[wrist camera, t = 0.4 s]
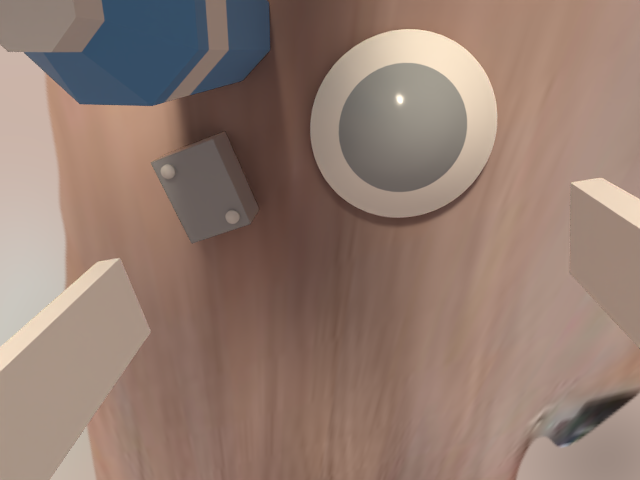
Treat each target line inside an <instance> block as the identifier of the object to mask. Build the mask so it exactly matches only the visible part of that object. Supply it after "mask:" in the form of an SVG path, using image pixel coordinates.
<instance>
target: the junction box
mask: <svg viewBox="0 0 640 480" xmlns="http://www.w3.org/2000/svg"><path fill="white" fill-rule="evenodd" d="M151 164H152V166H153V168H154V170H155V172H156V174H157V176H158V178H159V180H160V182H161V184H162V186H163V188H164V190H165V192H166V194H167V196H168V198H169V200H170V202H171V204H172V206H173V208H174V210H175V212H176V214H177V216H178V218H179V220H180V222H181V224H182V226H183V227H184V229H185V231H186V233H187V235H188V237H189V239H190V241H191V243H195V242H198V241H201V240H204V239H207V238H210V237H213V236H216V235H219V234H222V233H225V232H228V231H231V230H234V229H237V228H240V227H243V226H246V225H249V224H251V223H252V221H253V219H254V218H255V216H256V214H257V213H258V211H259V208H258V205H257V203H256V201H255V198H254V196H253V194H252V192H251V189H250V187H249V185H248V182H247V180H246V178H245V176H244V173H243V171H242V169H241V166H240V164H239V162H238V160H237V157H236V155H235V153H234V150H233V148H232V146H231V144H230V141H229V139H228V137H227V134H226V132H225V131H224V132H222V133H219V134H216V135H214V136H211V137H209V138H206V139H203V140H201V141H198V142H195V143H193V144H190V145H188V146H185V147H182V148H180V149H177V150H174V151H172V152H169V153H167V154H165V155H163V156H162V157H160V158H158V159H156V160H154V161H153V162H151Z"/></svg>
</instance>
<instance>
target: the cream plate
mask: <svg viewBox="0 0 640 480" xmlns="http://www.w3.org/2000/svg"><path fill="white" fill-rule="evenodd" d="M496 130H497V106H496V100H495V96H494V92H493V88H492V86H491V83H490V81H489V78H488V77H487V75H486V73H485V71H484V70H483V68H482V66H481V65H480V64H479V63H478V61H477V60H476V59H475V58H474V57H473V56H472V55H471V54H470V53H469V52H468V51H467V50H466V49H465V48H463V47H462V46H461V45H459V44H458V43H456V42H455V41H453V40H451V39H449V38H447V37H445V36H443V35H440V34H436V33H433V32H430V31H424V30H417V29H402V30H394V31H389V32H385V33H382V34H378V35H376V36H373V37H371V38H368V39H366V40H364V41H363V42H361V43H359V44H358V45H356V46H354V47H353V48H352V49H350V50H349V51H348V52H347V53H345V54H344V55H343V56H342V57H341V58H340V59H339V60H338V61H337V62H336V63H335V64H334V65H333V67H332V68H331V69H330V71H329V72H328V73H327V75H326V77H325V78H324V80H323V82H322V84H321V85H320V88H319V90H318V92H317V95H316V97H315V101H314V104H313V108H312V114H311V121H310V136H311V145H312V149H313V153H314V157H315V160H316V162H317V165H318V167H319V169H320V171H321V173H322V175H323V177H324V178H325V180H326V181H327V182H328V184H329V185H330V186H331V188H332V189H333V190H334V191H335V192H336V193H337V194H338V195H339V196H341V197H342V198H343V199H344V200H346V201H347V202H348V203H350V204H352V205H353V206H355V207H357V208H359V209H361V210H363V211H365V212H368V213H371V214H375V215H378V216H384V217H395V218H403V217H413V216H418V215H423V214H426V213H429V212H432V211H435V210H437V209H439V208H441V207H443V206H445V205H447V204H448V203H450V202H451V201H453V200H455V199H456V198H457V197H458V196H460V195H461V194H462V193H463V192H464V191H465V190H466V189H467V188H468V187H469V186H470V185H471V184H472V183H473V182H474V181H475V179H476V178H477V177H478V176H479V174H480V173H481V171H482V169H483V168H484V166H485V164H486V163H487V160H488V158H489V156H490V154H491V151H492V148H493V144H494V141H495V136H496Z"/></svg>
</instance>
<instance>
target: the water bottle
mask: <svg viewBox="0 0 640 480" xmlns="http://www.w3.org/2000/svg"><path fill="white" fill-rule="evenodd" d="M0 45H1V46H2V47H4V48H5V49H6V50H7V51H8V52H24V53H25V54H26V55H27V56H28V57H29V58H30V59H32V61H34V62H35V63H36V64H37V65H38V66H39V67H40V68H41V69H42V70H43V71H44V72H46V73H47V74H48V75H49V76H50V77H51V78H52V79H53V80H54V81H55V82H56V83H58V84H59V85H60V86H61V87H62V88H63V89H64V90H65V91H66V92H67V93H68V94H70V95H71V96H72V97H73V98H74V99H75V100H76V101H77V102H78V103H79V104H95V105H137V106H153V105H157V104H160V103H164V102H167V101H171V100H175V99H178V98H182V97H186V96H189V95H193V94H196V93H200V92H204V91H207V90H211V89H215V88H218V87H222V86H225V85H229V84H233V83H236V82H240V81H243V80H244V79H245V77H246V76H247V75H248V74H249V73H250V72H251V71H252V70H253V69H254V68H255V66H256V65H257V64H258V63H259V62H260V61H261V60H262V59H263V58H264V56H265V55H266V54H267V53H268V52H269V51H270V18H269V2H268V1H267V0H0Z"/></svg>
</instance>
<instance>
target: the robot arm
mask: <svg viewBox="0 0 640 480" xmlns="http://www.w3.org/2000/svg"><path fill="white" fill-rule="evenodd" d="M570 274H571V275H572V276H573V277H574V278H575V279H576V280H577V282H578V283H579V284H580V285H581V286H582V287H583V288H584V289H585V290H586V291H587V292H588V293H589V295H590V296H591V297H592V298H593V299H594V300H595V301H596V302H597V303H598V304H599V305H600V306H601V308H602V309H603V310H604V311H605V312H606V313H607V314H608V315H609V316H610V317H611V318H612V319H613V321H614V322H615V323H616V324H617V325H618V326H619V327H620V328H621V329H622V330H623V331H624V332H625V334H626V335H627V336H628V337H629V338H630V339H631V340H632V341H633V342H634V343H635V344H636V345H637V347H638V348H639V349H640V199H638V198H636V197H635V196H633V195H631V194H629V193H628V192H626V191H624V190H622V189H620V188H619V187H617V186H615V185H613V184H612V183H610V182H608V181H606V180H605V179H603V178H596V179H590V180H584V181H578V182H572V183H571V192H570ZM150 333H151V330H150V328H149V325H148V323H147V321H146V318H145V316H144V314H143V311H142V309H141V306H140V304H139V302H138V299H137V297H136V294H135V292H134V290H133V287H132V285H131V283H130V280H129V278H128V275H127V273H126V271H125V268H124V266H123V263H122V261H121V259H120V258H117V259H111V260H105V261H99V262H97V263H95V264H94V265H93V266H92V267H91V268H90V269H89V270H87V271H86V272H85V273H84V274H83V275H82V276H81V277H80V278H78V279H77V280H76V281H75V282H74V283H73V284H72V285H70V286H69V287H68V288H67V289H66V290H65V291H64V292H62V293H61V294H60V295H59V296H58V297H57V298H56V299H55V300H53V301H52V302H51V303H50V304H49V305H48V306H46V307H45V308H44V309H43V310H42V311H41V312H40V313H39V314H37V315H36V316H35V317H34V318H33V319H32V320H31V321H29V322H28V323H27V324H26V325H25V326H24V327H23V328H22V329H20V330H19V331H18V332H17V333H16V334H15V335H14V336H12V337H11V338H10V339H9V340H8V341H7V342H6V343H5V344H3V345H2V346H1V347H0V480H50V478H51V477H52V476H53V474H54V473H55V471H56V470H57V468H58V467H59V465H60V464H61V462H62V461H63V459H64V458H65V456H66V455H67V454H68V452H69V451H70V449H71V448H72V446H73V445H74V443H75V442H76V441H77V439H78V437H79V436H80V435H81V433H82V432H83V430H84V429H85V427H86V426H87V424H88V423H89V422H90V420H91V419H92V417H93V416H94V414H95V413H96V411H97V410H98V408H99V407H100V406H101V404H102V403H103V401H104V400H105V398H106V397H107V395H108V394H109V392H110V391H111V389H112V388H113V387H114V385H115V384H116V382H117V381H118V379H119V378H120V376H121V375H122V373H123V372H124V370H125V369H126V368H127V366H128V365H129V363H130V362H131V360H132V359H133V357H134V356H135V354H136V353H137V352H138V350H139V349H140V347H141V346H142V344H143V343H144V341H145V340H146V338H147V337H148V335H149V334H150Z"/></svg>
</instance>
